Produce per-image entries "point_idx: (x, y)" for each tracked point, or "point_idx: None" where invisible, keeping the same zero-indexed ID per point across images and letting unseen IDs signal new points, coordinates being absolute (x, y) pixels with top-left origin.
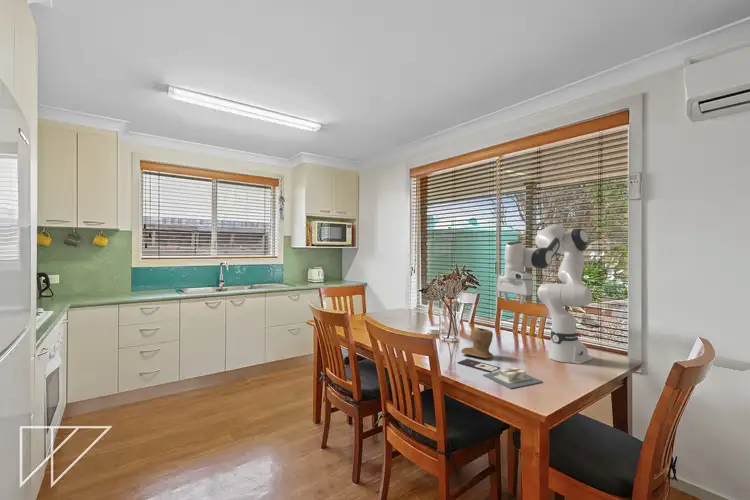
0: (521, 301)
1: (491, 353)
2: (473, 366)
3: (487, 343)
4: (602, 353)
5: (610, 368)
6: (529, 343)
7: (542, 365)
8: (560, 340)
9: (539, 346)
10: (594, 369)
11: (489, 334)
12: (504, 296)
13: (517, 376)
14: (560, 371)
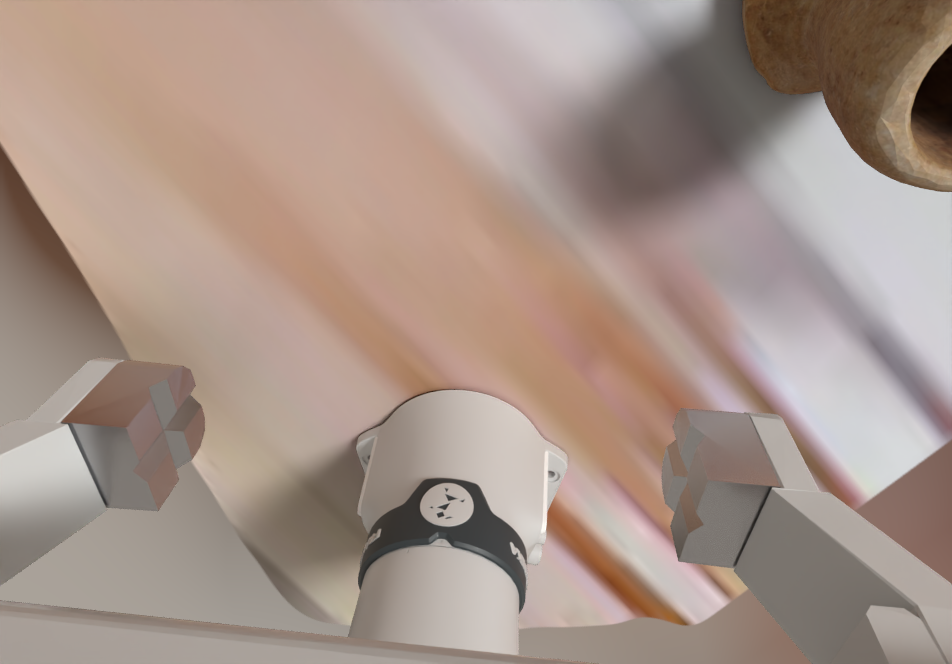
0: (53, 405)
1: (783, 80)
2: None
3: (830, 18)
4: None
5: (262, 486)
6: None
7: (424, 260)
8: (411, 500)
9: None
10: (270, 425)
11: (862, 65)
12: (842, 525)
13: None
14: (295, 258)
